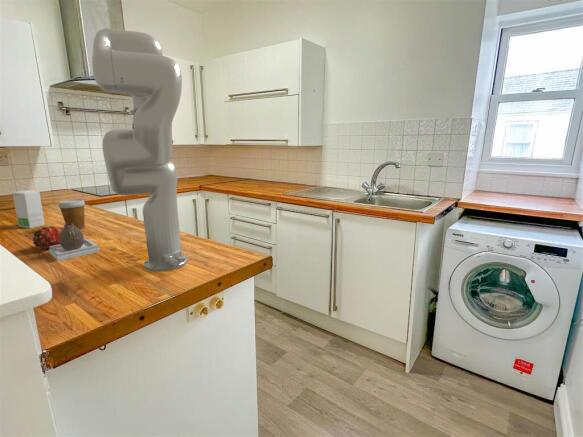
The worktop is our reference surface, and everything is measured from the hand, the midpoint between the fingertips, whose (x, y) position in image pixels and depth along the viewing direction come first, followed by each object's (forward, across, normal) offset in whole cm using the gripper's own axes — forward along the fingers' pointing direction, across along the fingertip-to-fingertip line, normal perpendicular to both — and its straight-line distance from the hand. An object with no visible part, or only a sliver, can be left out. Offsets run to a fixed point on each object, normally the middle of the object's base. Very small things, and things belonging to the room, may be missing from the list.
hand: (152, 164), depth 115 cm
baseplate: (+28, -26, +9) cm, 39 cm away
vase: (+27, -26, +9) cm, 39 cm away
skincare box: (+28, -29, +64) cm, 76 cm away
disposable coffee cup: (+28, -17, +44) cm, 55 cm away
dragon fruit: (+29, -30, +21) cm, 47 cm away
